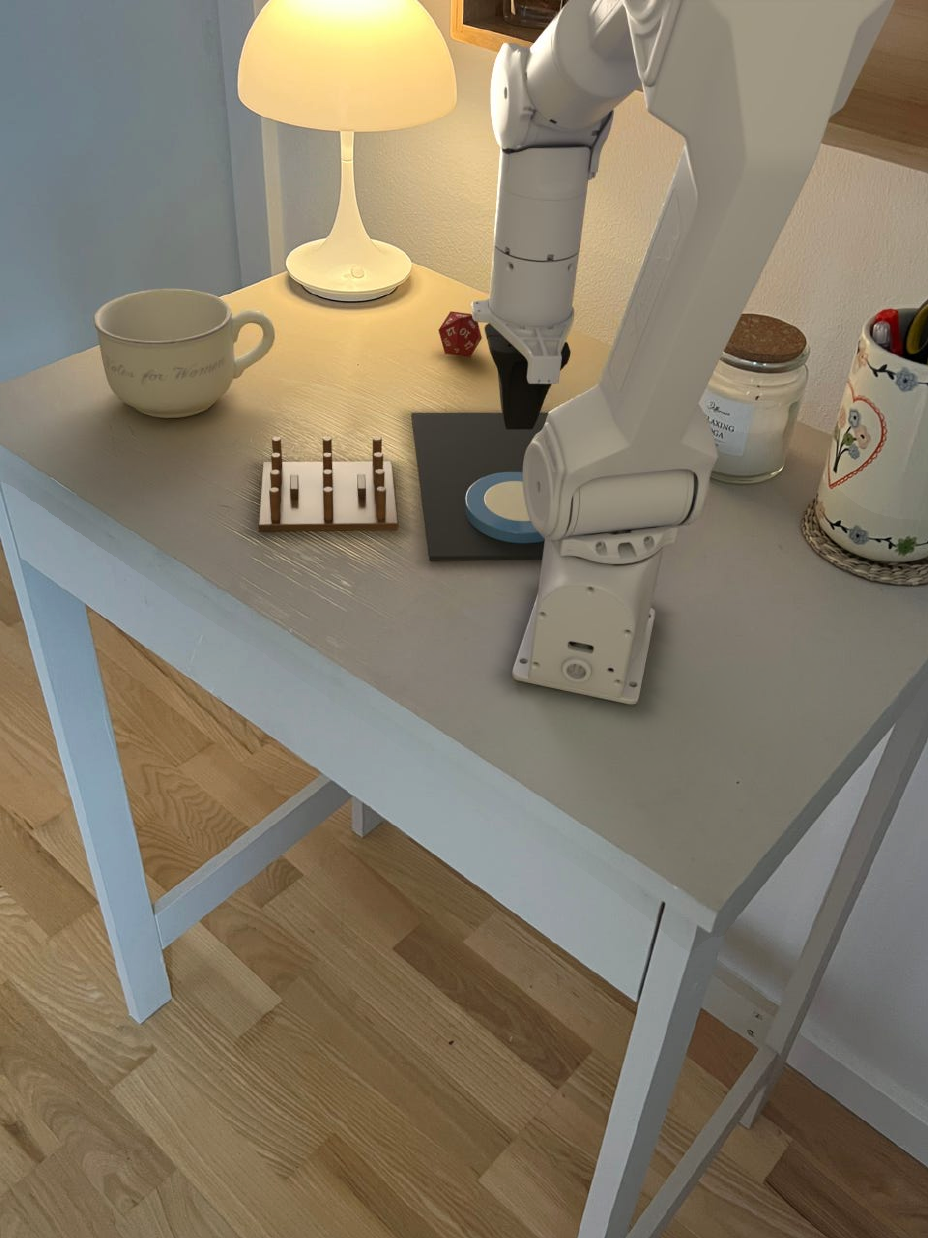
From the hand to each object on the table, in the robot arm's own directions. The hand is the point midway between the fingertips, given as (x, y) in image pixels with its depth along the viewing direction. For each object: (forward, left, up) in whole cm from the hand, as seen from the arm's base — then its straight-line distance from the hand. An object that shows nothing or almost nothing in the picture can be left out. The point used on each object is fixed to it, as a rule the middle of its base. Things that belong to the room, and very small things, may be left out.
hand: (518, 424), depth 84 cm
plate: (-3, -1, -5) cm, 6 cm away
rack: (-5, +13, -6) cm, 15 cm away
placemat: (+1, +1, -6) cm, 6 cm away
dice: (+21, +10, -6) cm, 24 cm away
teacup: (+5, +29, -6) cm, 30 cm away
